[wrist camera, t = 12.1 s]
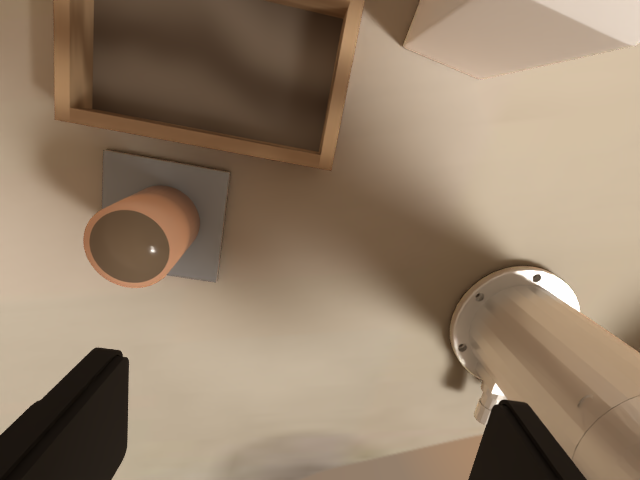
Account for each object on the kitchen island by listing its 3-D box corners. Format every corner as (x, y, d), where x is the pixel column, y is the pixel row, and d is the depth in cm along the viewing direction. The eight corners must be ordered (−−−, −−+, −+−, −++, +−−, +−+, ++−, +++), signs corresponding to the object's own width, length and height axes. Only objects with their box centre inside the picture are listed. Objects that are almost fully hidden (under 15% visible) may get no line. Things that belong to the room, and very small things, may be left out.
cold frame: (327, 165, 32) (355, 207, 17) (81, 119, 30) (-149, 119, 15) (371, -59, 28) (464, -287, 12) (83, -132, 26) (-250, -523, 10)
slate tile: (217, 279, 35) (216, 282, 34) (103, 262, 34) (100, 265, 33) (230, 171, 32) (229, 172, 32) (107, 149, 31) (103, 150, 31)
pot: (196, 258, 34) (171, 294, 27) (125, 247, 33) (82, 281, 26) (203, 192, 32) (178, 212, 25) (128, 179, 31) (83, 196, 25)
